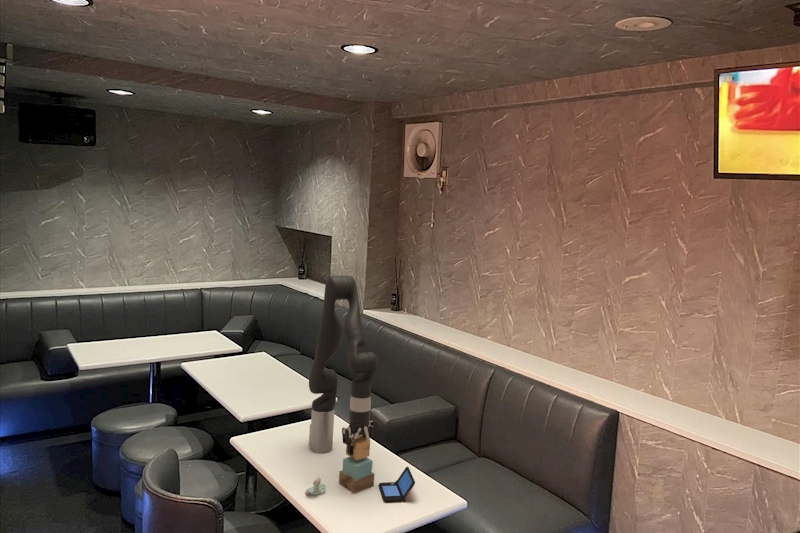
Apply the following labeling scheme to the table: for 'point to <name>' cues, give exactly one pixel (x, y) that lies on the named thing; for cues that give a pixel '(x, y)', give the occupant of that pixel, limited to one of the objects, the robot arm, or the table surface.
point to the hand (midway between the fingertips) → (357, 451)
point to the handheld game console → (397, 488)
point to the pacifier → (316, 488)
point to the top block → (357, 467)
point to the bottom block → (356, 482)
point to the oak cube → (360, 448)
